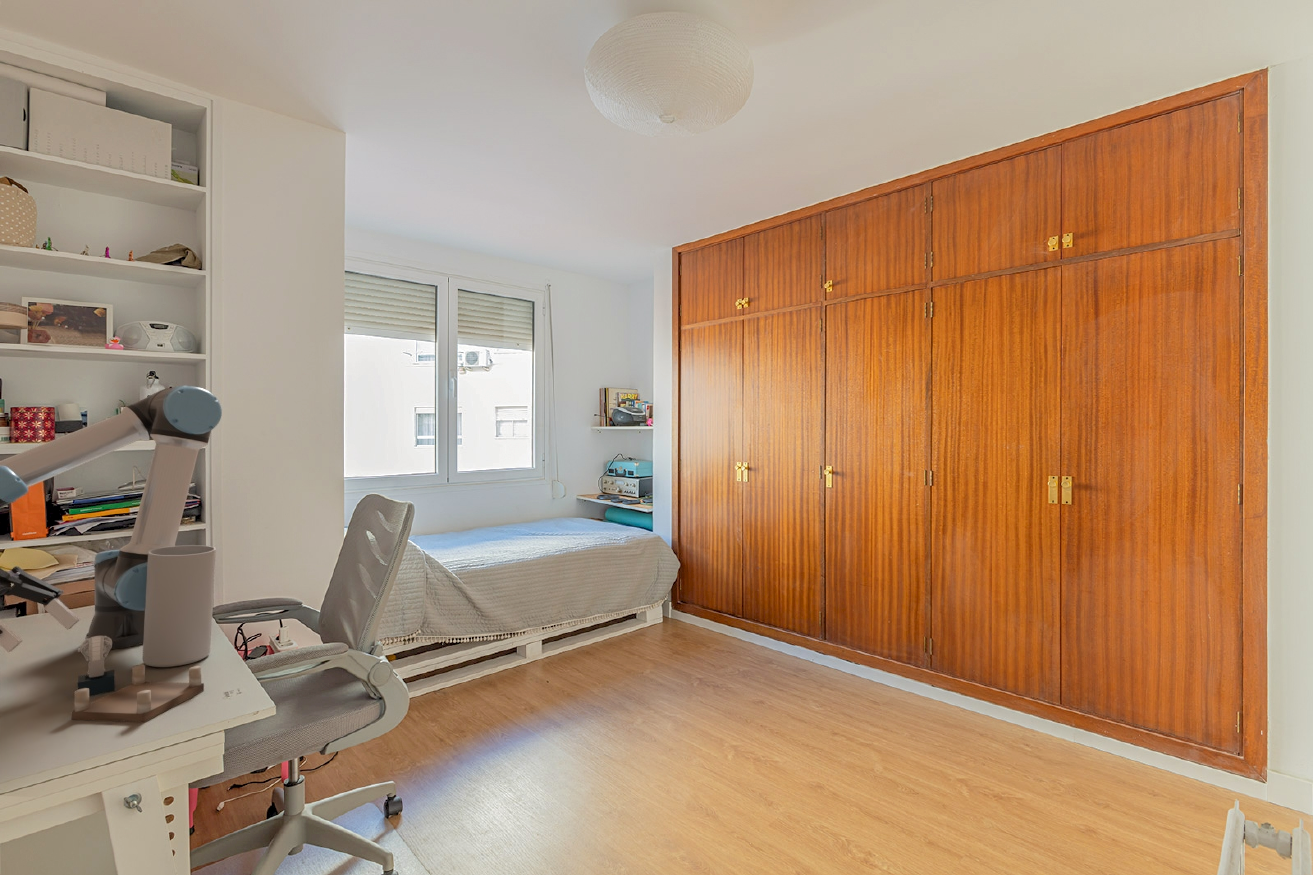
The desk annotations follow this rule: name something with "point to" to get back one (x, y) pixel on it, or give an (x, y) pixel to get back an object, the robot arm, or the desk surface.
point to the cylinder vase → (178, 605)
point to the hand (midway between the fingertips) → (46, 635)
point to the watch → (97, 666)
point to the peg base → (129, 702)
